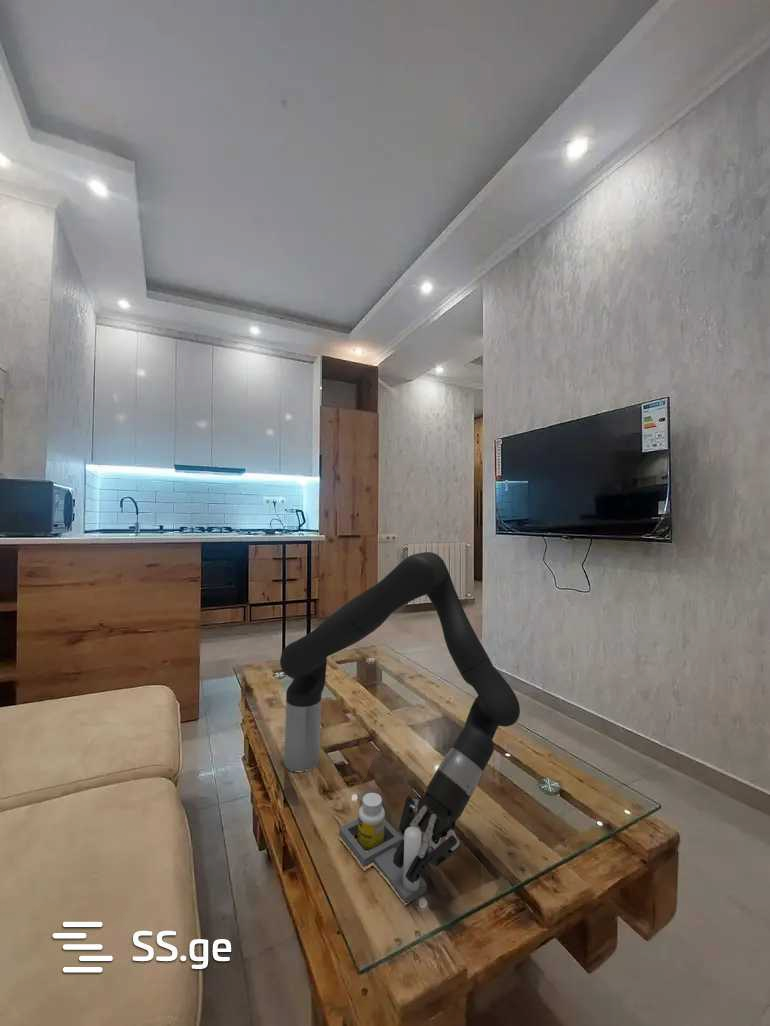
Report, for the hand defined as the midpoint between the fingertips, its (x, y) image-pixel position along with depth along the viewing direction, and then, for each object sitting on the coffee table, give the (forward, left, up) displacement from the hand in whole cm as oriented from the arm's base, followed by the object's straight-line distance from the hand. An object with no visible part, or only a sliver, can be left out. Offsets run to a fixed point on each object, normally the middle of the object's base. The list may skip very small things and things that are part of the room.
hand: (402, 872), depth 76 cm
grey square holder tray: (-8, +2, -5) cm, 10 cm away
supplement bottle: (-13, +2, -5) cm, 14 cm away
